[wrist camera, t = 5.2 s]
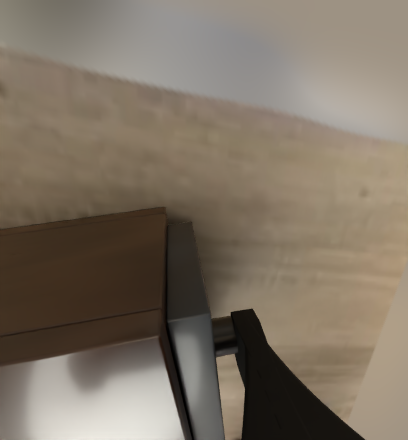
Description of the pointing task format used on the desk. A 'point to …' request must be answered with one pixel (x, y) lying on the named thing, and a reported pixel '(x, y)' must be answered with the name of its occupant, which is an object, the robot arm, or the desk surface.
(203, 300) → the slider
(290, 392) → the robot arm
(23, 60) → the desk surface
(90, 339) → the case
